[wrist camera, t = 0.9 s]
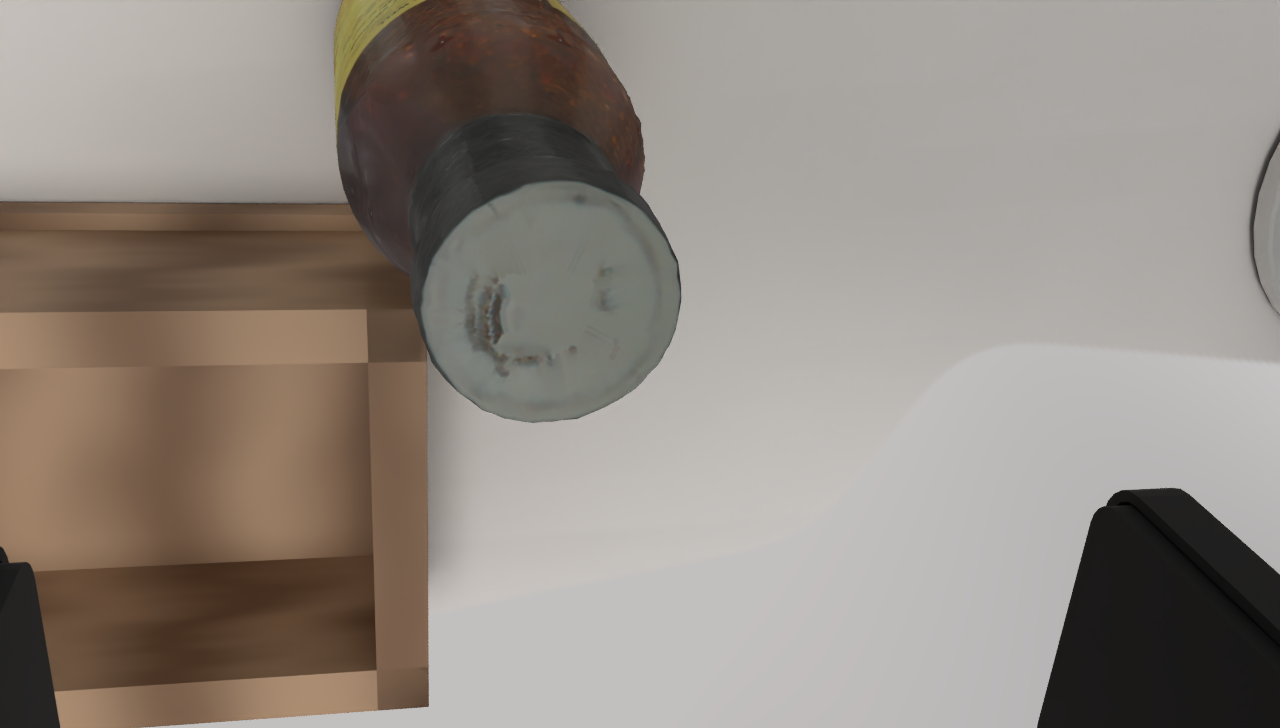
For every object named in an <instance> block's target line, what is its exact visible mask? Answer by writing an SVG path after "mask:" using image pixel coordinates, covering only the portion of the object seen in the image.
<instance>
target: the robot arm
mask: <svg viewBox="0 0 1280 728" xmlns="http://www.w3.org/2000/svg"><path fill="white" fill-rule="evenodd" d="M1254 256H1255V261H1256V265H1257V269H1258V273H1259V277H1260V282H1261V285H1262V287H1263V289H1264V291H1265V293H1266V295H1267V296H1268V298H1269V300H1270V302H1271V304H1272V306H1273V308H1274V309H1275V310H1276V311H1277V312H1278V313H1279V314H1280V143H1279V145H1278V147H1277V148H1276V150H1275V152H1274V154H1273V156H1272V158H1271V160H1270V163H1269V166H1268V169H1267V172H1266V175H1265V178H1264V181H1263V184H1262V187H1261V190H1260V193H1259V197H1258V203H1257V209H1256V216H1255V222H1254ZM0 728H60V722H59V716H58V710H57V705H56V699H55V693H54V687H53V681H52V675H51V669H50V663H49V657H48V652H47V646H46V640H45V634H44V628H43V622H42V616H41V610H40V604H39V599H38V593H37V587H36V581H35V576H34V572H33V569H32V567H31V565H30V564H29V563H28V562H14V563H9V561H8V557H7V555H6V553H5V551H4V549H3V548H2V547H0ZM1037 728H1280V575H1279V574H1278V573H1277V572H1276V571H1275V570H1274V569H1273V568H1272V567H1270V566H1269V565H1268V564H1267V563H1266V562H1265V561H1264V560H1263V559H1261V558H1260V557H1259V556H1258V555H1257V554H1256V553H1255V552H1254V551H1252V550H1251V549H1250V548H1249V547H1248V546H1247V545H1246V544H1244V543H1243V542H1242V541H1241V540H1240V539H1239V538H1238V537H1237V536H1236V535H1234V534H1233V533H1232V532H1231V531H1230V530H1229V529H1228V528H1226V527H1225V526H1224V525H1223V524H1222V523H1221V522H1220V521H1218V520H1217V519H1216V518H1215V517H1214V516H1213V515H1212V514H1211V513H1209V512H1208V511H1207V510H1206V509H1205V508H1204V507H1203V506H1201V505H1200V504H1199V503H1198V502H1197V501H1196V500H1195V499H1194V498H1193V497H1191V496H1190V495H1189V494H1188V493H1186V492H1184V491H1183V490H1181V489H1176V488H1160V489H1140V490H1122V491H1120V492H1117V493H1115V494H1114V495H1113V496H1112V497H1111V498H1110V500H1109V501H1108V503H1107V505H1106V506H1104V507H1102V508H1099V509H1098V510H1097V511H1096V512H1095V514H1094V515H1093V518H1092V521H1091V523H1090V527H1089V531H1088V535H1087V538H1086V543H1085V546H1084V550H1083V554H1082V557H1081V562H1080V565H1079V569H1078V573H1077V577H1076V580H1075V584H1074V588H1073V592H1072V596H1071V599H1070V603H1069V607H1068V611H1067V614H1066V618H1065V622H1064V626H1063V630H1062V634H1061V637H1060V641H1059V645H1058V649H1057V653H1056V656H1055V660H1054V664H1053V668H1052V672H1051V675H1050V679H1049V683H1048V687H1047V691H1046V694H1045V698H1044V702H1043V706H1042V710H1041V713H1040V717H1039V721H1038V726H1037Z"/></svg>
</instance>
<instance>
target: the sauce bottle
mask: <svg viewBox="0 0 1280 728" xmlns="http://www.w3.org/2000/svg"><path fill="white" fill-rule="evenodd" d="M334 74H335V120H336V140H337V145H336V146H337V153H338V163H339V170H340V175H341V179H342V184H343V188H344V191H345V194H346V197H347V199H348V202H349V205H350V207H351V210H352V212H353V214H354V216H355V218H356V220H357V221H358V223H359V225H360V227H361V229H362V230H363V232H364V233H365V235H366V236H367V237H368V239H369V240H370V242H371V243H372V244H373V245H374V246H375V247H376V249H377V250H378V251H379V252H380V253H381V254H382V255H383V256H384V257H385V258H386V259H387V260H388V261H389V262H390V263H391V264H392V265H393V266H395V267H396V268H398V269H399V270H401V271H402V272H404V273H405V274H406V275H408V276H409V277H410V289H411V300H412V306H413V310H414V313H415V316H416V319H417V321H418V325H419V329H420V333H421V336H422V339H423V342H424V343H425V345H426V348H427V350H428V352H429V355H430V358H431V361H432V363H433V364H434V366H435V367H436V368H437V369H438V371H439V372H440V373H441V374H442V376H443V377H444V378H445V379H446V380H447V381H448V382H449V383H450V384H451V385H452V386H453V387H454V388H455V389H456V390H457V391H458V392H459V393H460V394H462V395H463V396H465V397H466V398H467V399H469V400H470V401H472V402H473V403H474V404H476V405H477V406H478V407H479V408H481V409H482V410H484V411H487V412H490V413H493V414H496V415H498V416H500V417H503V418H506V419H512V420H518V421H524V422H531V423H535V422H553V421H558V420H568V419H578V418H580V417H583V416H585V415H587V414H590V413H592V412H594V411H597V410H599V409H601V408H604V407H606V406H608V405H610V404H611V403H613V402H615V401H617V400H619V399H620V398H622V397H623V396H625V395H626V394H628V393H629V392H631V391H632V390H634V389H635V388H636V387H637V386H638V385H639V384H640V383H641V382H642V381H643V380H644V379H645V378H646V376H647V375H648V374H649V373H650V372H651V371H652V370H653V369H654V368H655V367H656V366H657V365H658V363H659V362H660V360H661V359H662V357H663V355H664V353H665V351H666V349H667V348H668V346H669V345H670V342H671V340H672V337H673V335H674V332H675V330H676V325H677V320H678V315H679V310H680V304H681V283H680V274H679V266H678V260H677V258H676V256H675V254H674V252H673V250H672V248H671V245H670V243H669V241H668V239H667V237H666V234H665V233H664V231H663V229H662V227H661V225H660V223H659V222H658V220H657V219H656V217H655V216H654V214H653V212H652V210H651V209H650V207H649V205H648V204H647V203H646V201H645V200H644V199H643V198H642V197H641V196H640V195H639V194H640V190H641V185H642V181H643V174H644V171H645V169H644V161H645V156H644V148H643V138H642V134H641V122H640V120H639V118H638V117H637V116H636V114H635V112H634V109H633V106H632V103H631V100H630V97H629V96H628V95H627V91H626V90H625V88H624V87H623V85H622V84H621V82H620V81H619V79H618V78H617V76H616V75H615V73H614V72H613V70H612V69H611V67H610V66H609V64H608V62H607V60H606V59H605V57H604V55H603V54H602V52H601V51H600V49H599V47H598V46H597V44H596V43H595V42H594V41H593V40H592V38H591V37H590V36H589V35H588V34H587V33H586V31H585V30H584V29H583V28H582V27H581V26H580V25H579V24H578V22H577V21H576V20H575V19H574V18H573V17H572V16H571V15H570V13H569V12H568V11H567V10H566V9H565V8H564V7H563V6H562V5H561V3H560V2H559V1H558V0H343V1H342V3H341V7H340V10H339V13H338V16H337V20H336V26H335V33H334Z"/></svg>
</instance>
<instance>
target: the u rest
mask: <svg viewBox="0 0 1280 728" xmlns="http://www.w3.org/2000/svg"><path fill="white" fill-rule="evenodd" d="M0 547H2V548H3V549H4V551H5V553H6V555H7V557H8V561H9V563H14V562H28V563H29V564H30V565H31V567H32V569H33V572H34V576H35V581H36V587H37V593H38V599H39V604H40V610H41V616H42V622H43V628H44V634H45V640H46V646H47V652H48V657H49V663H50V669H51V675H52V681H53V687H54V693H55V699H56V705H57V710H58V716H59V722H60V728H141V727H155V726H169V725H183V724H195V723H196V724H197V723H211V722H225V721H238V720H252V719H266V718H279V717H293V716H307V715H321V714H335V713H349V712H363V711H376V710H390V709H403V708H418V707H428V706H429V701H428V700H429V699H428V698H429V692H428V691H429V689H428V688H429V683H428V508H427V348H426V345H425V343H424V342H423V339H422V336H421V333H420V329H419V325H418V321H417V319H416V316H415V313H414V310H413V306H412V300H411V289H410V277H409V276H408V275H406V274H405V273H404V272H402V271H401V270H399V269H398V268H396V267H395V266H393V265H392V264H391V263H390V262H389V261H388V260H387V259H386V258H385V257H384V256H383V255H382V254H381V253H380V252H379V251H378V250H377V249H376V247H375V246H374V245H373V244H372V243H371V242H370V240H369V239H368V237H367V236H366V235H365V233H364V232H363V230H362V229H361V227H360V225H359V223H358V221H357V220H356V218H355V216H354V214H353V212H352V210H351V207H350V205H349V204H218V203H79V202H0Z"/></svg>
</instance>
